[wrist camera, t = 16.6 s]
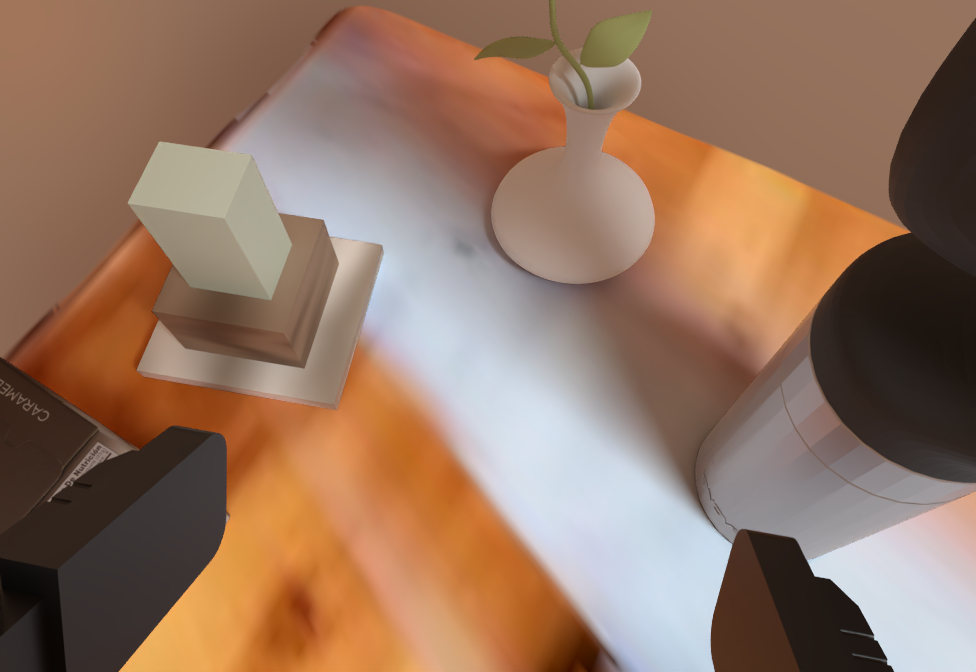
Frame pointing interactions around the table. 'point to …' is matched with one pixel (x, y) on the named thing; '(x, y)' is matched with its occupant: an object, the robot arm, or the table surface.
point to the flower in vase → (578, 164)
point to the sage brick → (213, 219)
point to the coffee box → (44, 444)
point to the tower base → (278, 377)
